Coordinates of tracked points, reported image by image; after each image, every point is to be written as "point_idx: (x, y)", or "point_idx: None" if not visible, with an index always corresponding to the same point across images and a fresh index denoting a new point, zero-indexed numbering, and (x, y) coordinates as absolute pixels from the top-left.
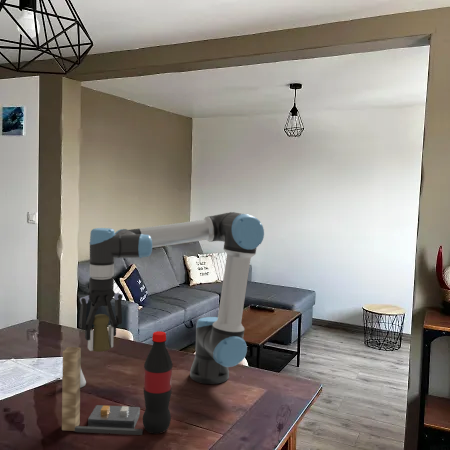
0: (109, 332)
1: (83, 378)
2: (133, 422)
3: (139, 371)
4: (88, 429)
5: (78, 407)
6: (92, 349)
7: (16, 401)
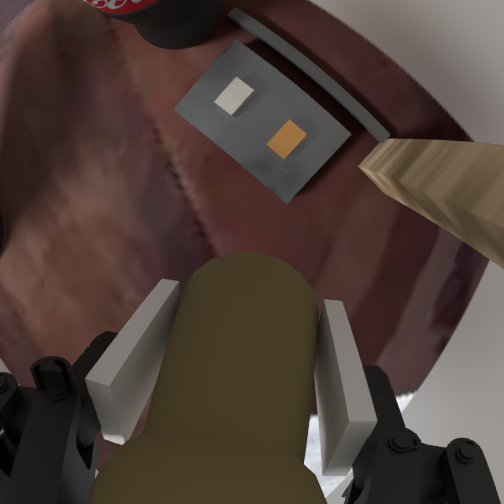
0: (141, 381)
1: None
2: (237, 41)
3: (86, 346)
4: (360, 104)
5: (383, 160)
6: (328, 304)
7: (409, 371)
